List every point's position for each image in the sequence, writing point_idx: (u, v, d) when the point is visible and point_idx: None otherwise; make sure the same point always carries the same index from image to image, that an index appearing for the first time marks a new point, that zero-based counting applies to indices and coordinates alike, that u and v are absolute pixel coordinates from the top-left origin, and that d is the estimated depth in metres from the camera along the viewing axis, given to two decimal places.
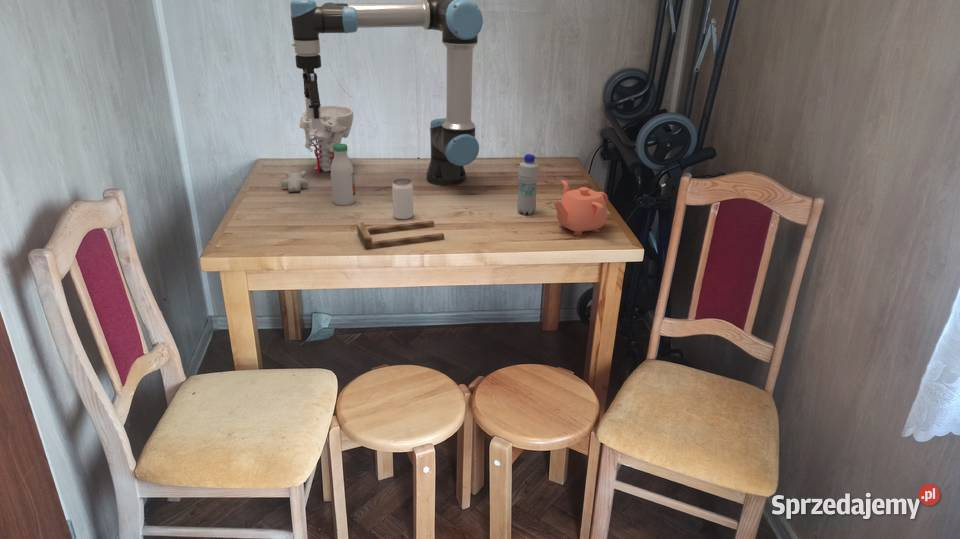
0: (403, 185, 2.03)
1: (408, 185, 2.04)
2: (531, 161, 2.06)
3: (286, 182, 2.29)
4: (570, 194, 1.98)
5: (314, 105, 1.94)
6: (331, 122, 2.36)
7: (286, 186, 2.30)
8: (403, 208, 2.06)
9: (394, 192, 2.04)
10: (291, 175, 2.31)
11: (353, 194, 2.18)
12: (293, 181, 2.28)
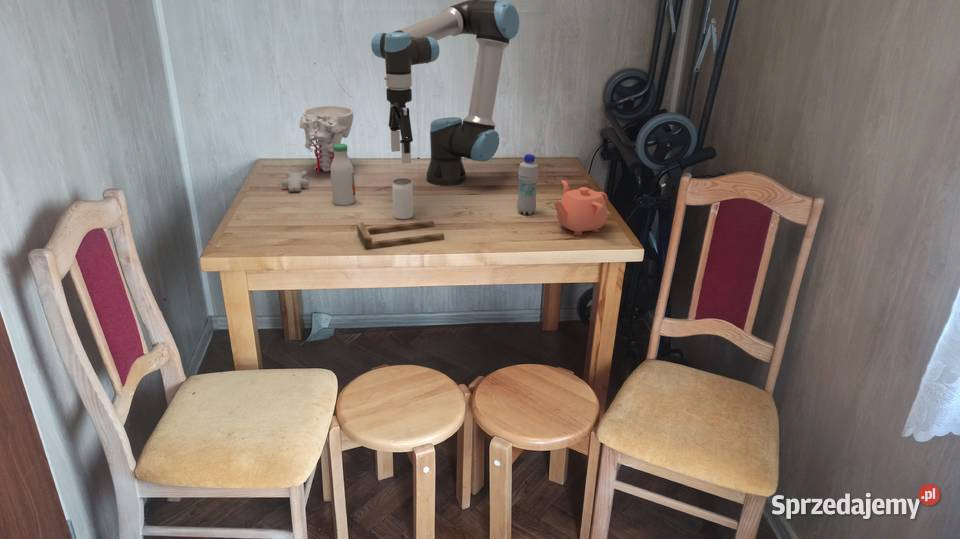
0: (403, 185, 2.03)
1: (408, 185, 2.04)
2: (531, 161, 2.06)
3: (287, 182, 2.29)
4: (570, 194, 1.98)
5: (406, 140, 1.89)
6: (331, 122, 2.36)
7: (286, 186, 2.30)
8: (403, 208, 2.06)
9: (394, 192, 2.04)
10: (292, 175, 2.31)
11: (353, 194, 2.18)
12: (293, 181, 2.28)
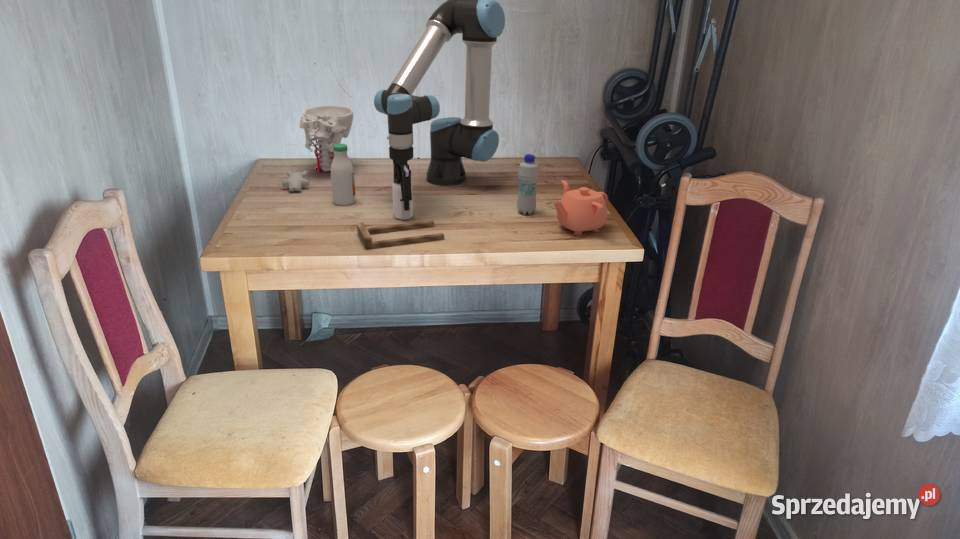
0: None
1: None
2: (531, 161, 2.06)
3: (287, 182, 2.30)
4: (570, 194, 1.98)
5: (406, 199, 2.01)
6: (331, 122, 2.36)
7: (287, 186, 2.30)
8: None
9: (394, 192, 2.04)
10: (292, 174, 2.31)
11: (353, 194, 2.18)
12: (294, 181, 2.28)
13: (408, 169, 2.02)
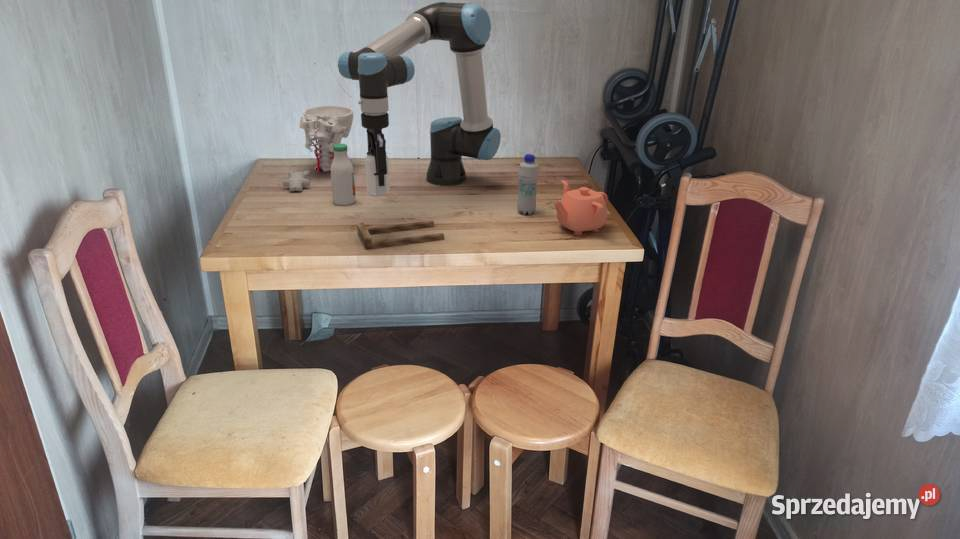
0: None
1: None
2: (531, 161, 2.06)
3: (288, 182, 2.30)
4: (570, 194, 1.98)
5: (380, 173, 1.77)
6: (331, 122, 2.36)
7: (288, 185, 2.31)
8: None
9: (367, 165, 1.81)
10: (293, 174, 2.32)
11: (353, 194, 2.18)
12: (295, 181, 2.28)
13: (383, 139, 1.78)
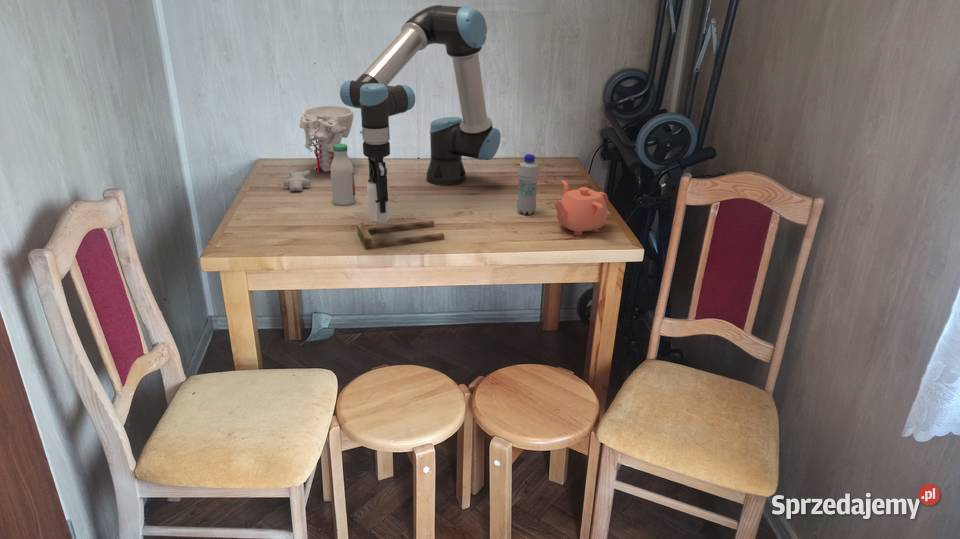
0: None
1: None
2: (531, 161, 2.06)
3: (288, 182, 2.30)
4: (570, 194, 1.98)
5: (382, 200, 1.81)
6: (331, 122, 2.36)
7: (288, 185, 2.31)
8: None
9: (369, 192, 1.84)
10: (294, 174, 2.32)
11: (353, 194, 2.18)
12: (295, 181, 2.28)
13: (384, 167, 1.82)
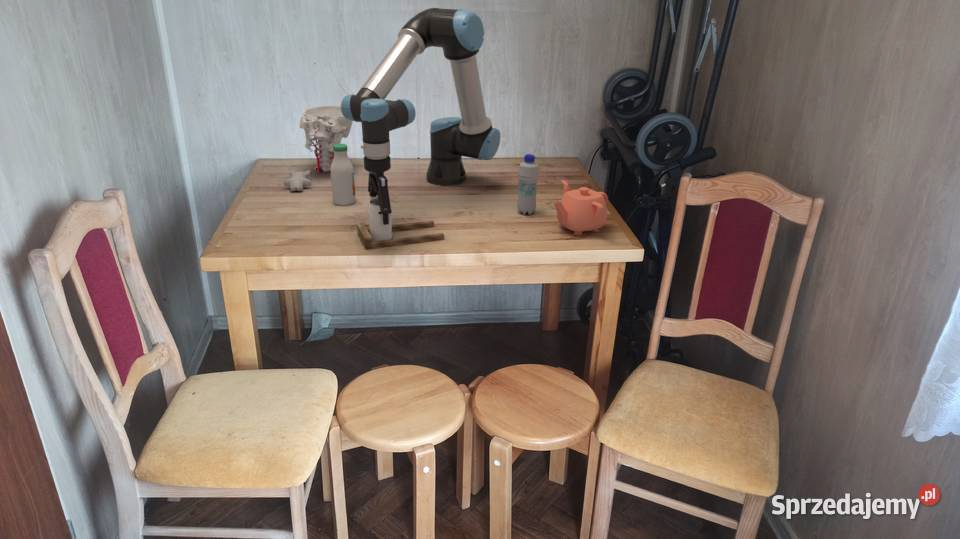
0: None
1: None
2: (531, 161, 2.06)
3: (289, 181, 2.30)
4: (570, 194, 1.98)
5: (385, 212, 1.79)
6: (331, 122, 2.36)
7: (289, 185, 2.31)
8: (380, 231, 1.89)
9: (370, 213, 1.87)
10: (294, 174, 2.32)
11: (353, 194, 2.18)
12: (295, 180, 2.29)
13: None
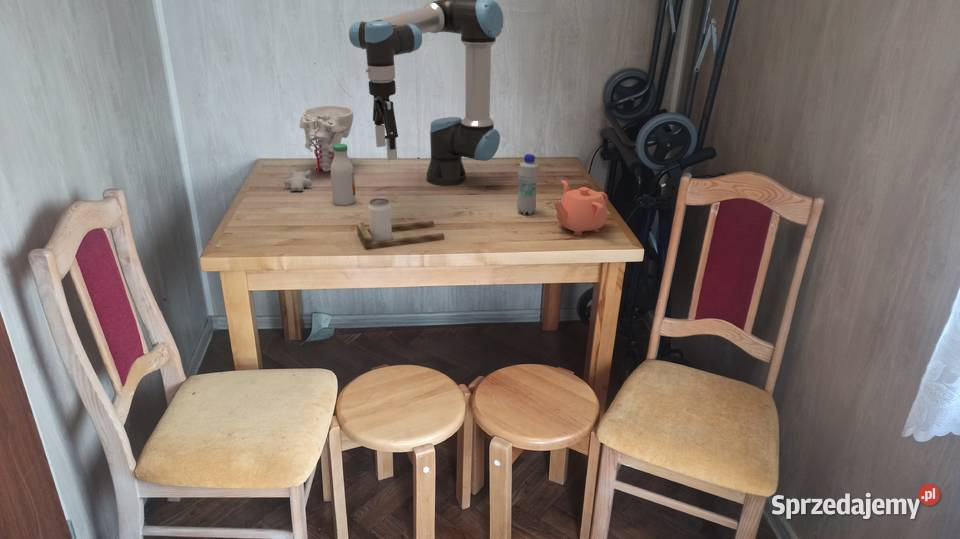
0: (380, 206, 1.86)
1: (386, 206, 1.87)
2: (531, 161, 2.06)
3: (289, 181, 2.30)
4: (570, 194, 1.98)
5: (391, 136, 1.79)
6: (331, 122, 2.36)
7: (289, 185, 2.31)
8: (380, 231, 1.89)
9: (370, 213, 1.87)
10: (295, 174, 2.32)
11: (353, 194, 2.18)
12: (296, 180, 2.29)
13: None
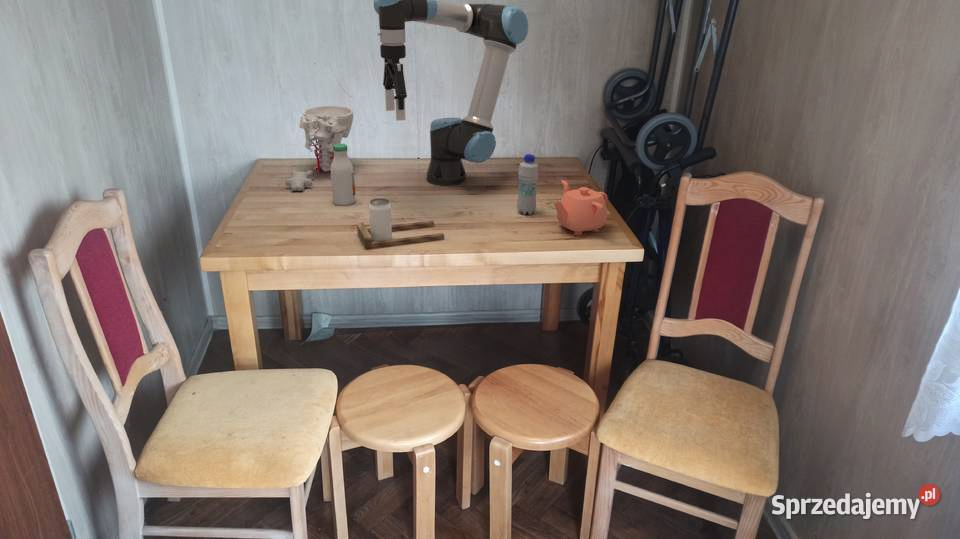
0: (380, 206, 1.86)
1: (386, 206, 1.87)
2: (531, 161, 2.06)
3: (290, 181, 2.30)
4: (570, 194, 1.98)
5: (400, 96, 1.89)
6: (331, 122, 2.36)
7: (290, 185, 2.31)
8: (380, 230, 1.89)
9: (370, 213, 1.88)
10: (296, 174, 2.32)
11: (353, 194, 2.18)
12: (297, 180, 2.29)
13: None
